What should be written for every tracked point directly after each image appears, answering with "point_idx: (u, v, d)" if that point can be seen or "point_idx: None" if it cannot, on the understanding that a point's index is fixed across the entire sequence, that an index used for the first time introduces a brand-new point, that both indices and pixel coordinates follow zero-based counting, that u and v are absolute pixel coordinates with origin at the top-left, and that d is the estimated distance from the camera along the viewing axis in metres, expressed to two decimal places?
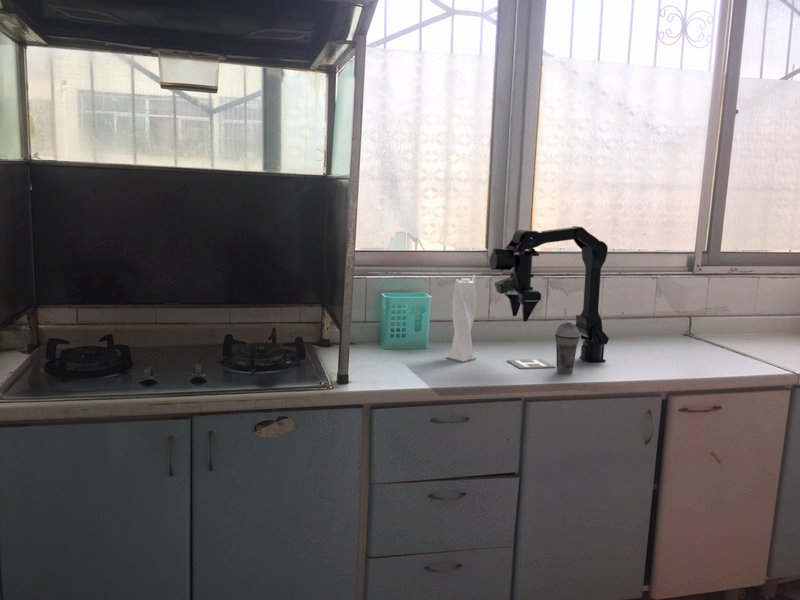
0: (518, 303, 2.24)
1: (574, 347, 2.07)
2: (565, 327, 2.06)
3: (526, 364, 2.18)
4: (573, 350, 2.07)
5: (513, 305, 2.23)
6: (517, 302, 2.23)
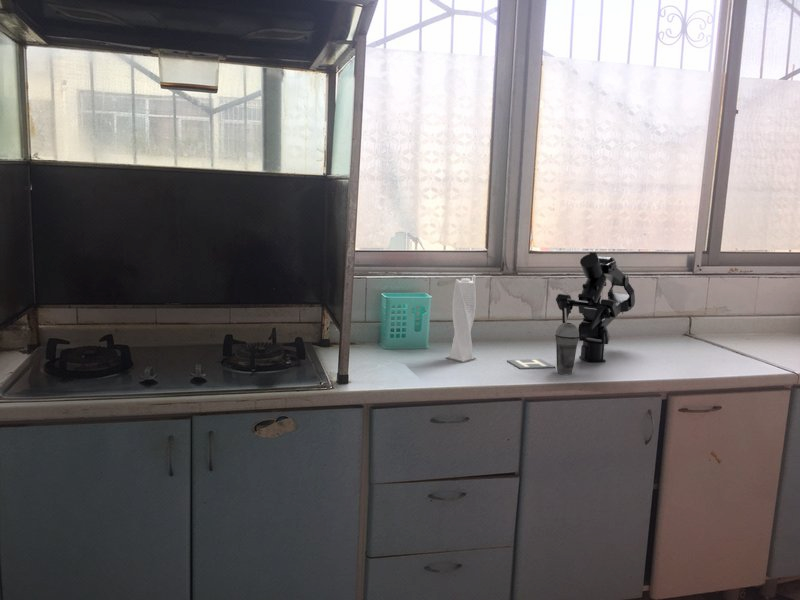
0: None
1: (574, 347, 2.07)
2: (565, 327, 2.07)
3: (526, 364, 2.18)
4: (573, 350, 2.07)
5: None
6: None
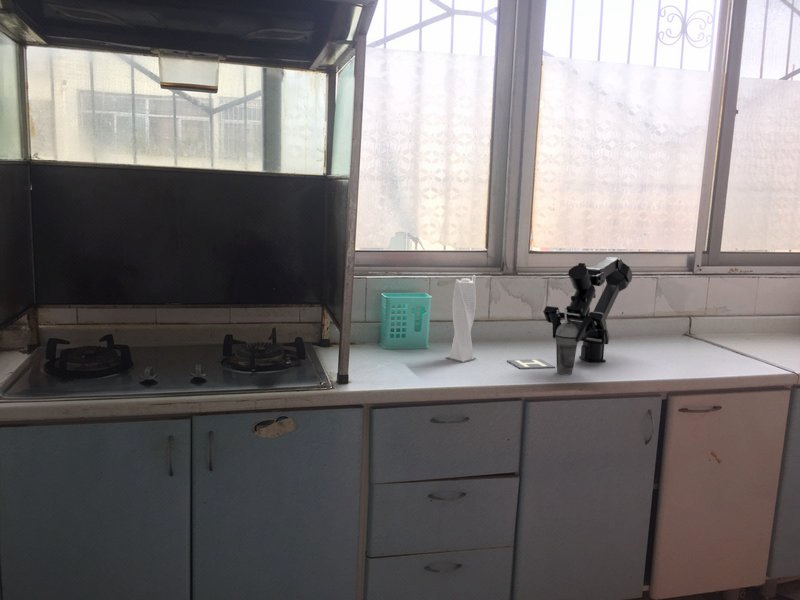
0: None
1: (574, 347, 2.07)
2: (565, 327, 2.07)
3: (526, 364, 2.18)
4: (573, 350, 2.07)
5: None
6: None
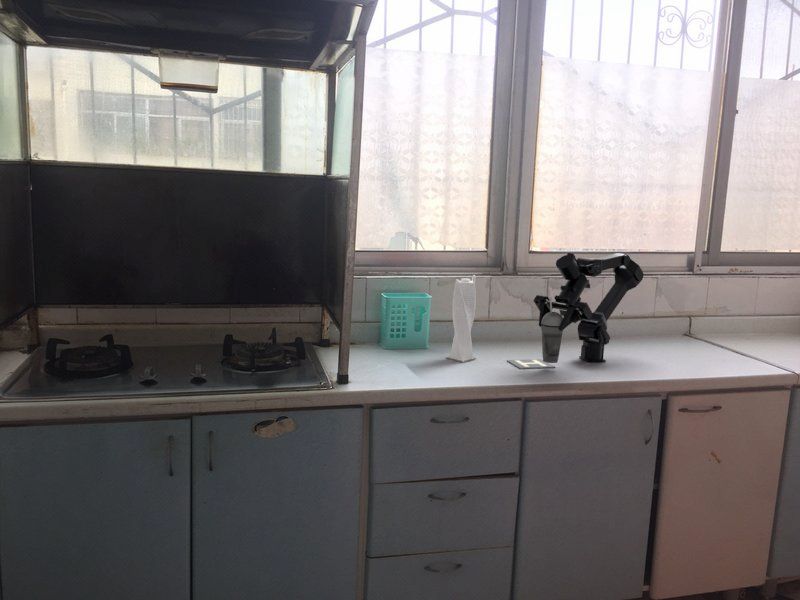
0: None
1: (558, 336, 2.09)
2: (549, 316, 2.09)
3: (526, 364, 2.18)
4: (557, 339, 2.09)
5: None
6: None
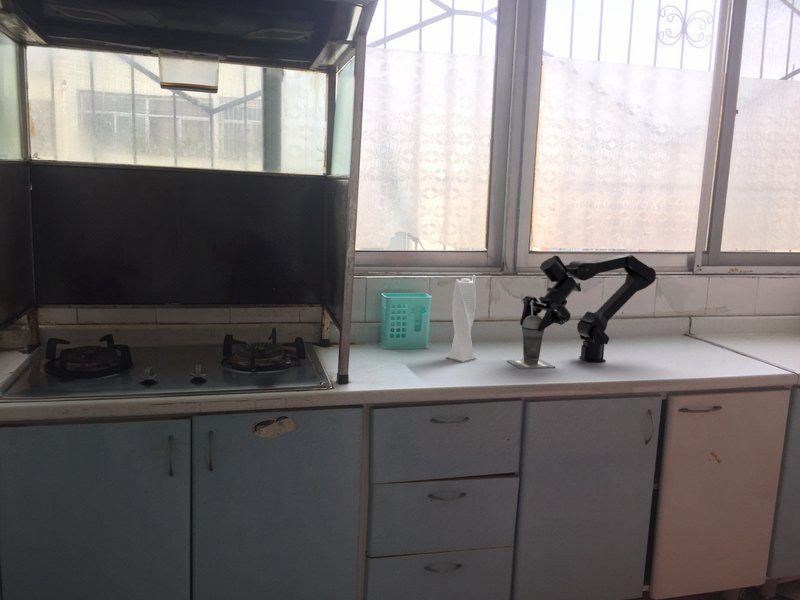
0: None
1: (535, 339, 2.15)
2: (528, 319, 2.16)
3: (526, 364, 2.18)
4: (534, 341, 2.15)
5: None
6: None
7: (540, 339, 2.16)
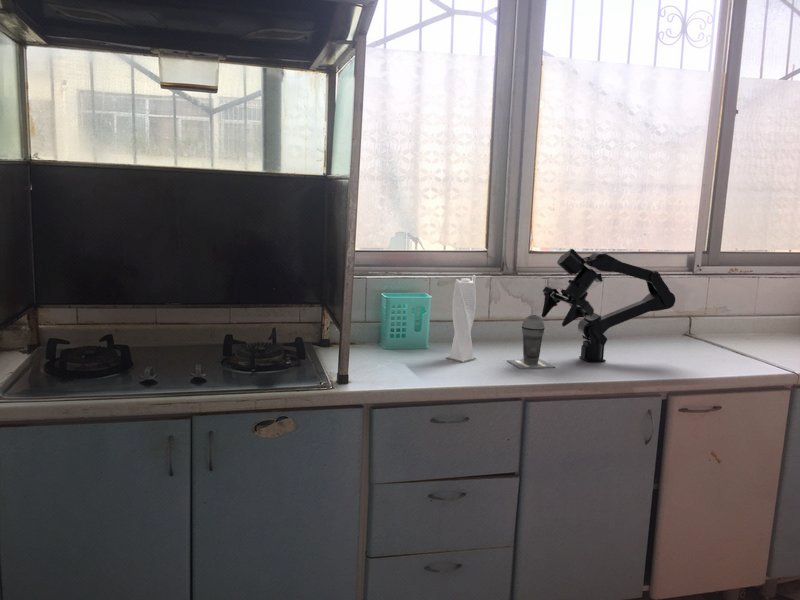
0: None
1: (535, 339, 2.15)
2: (528, 319, 2.16)
3: (526, 364, 2.18)
4: (534, 341, 2.15)
5: None
6: None
7: (540, 339, 2.16)
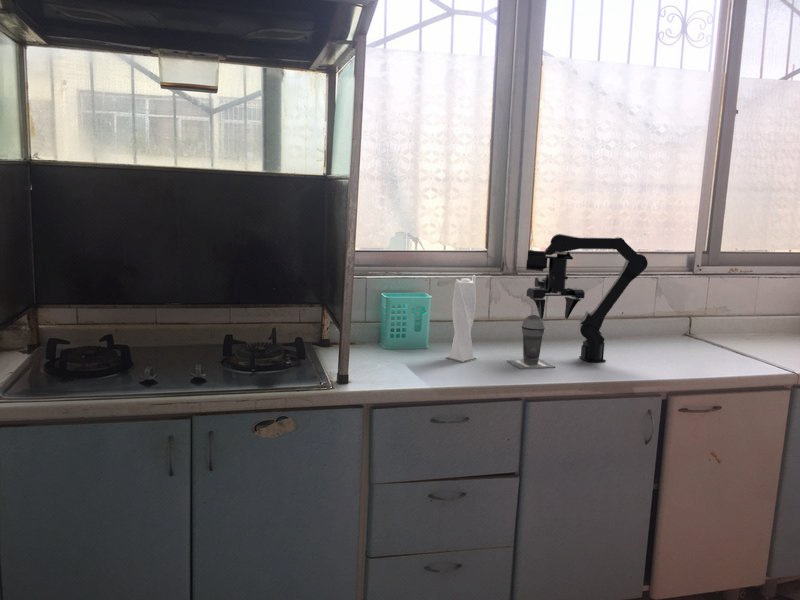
0: (570, 307, 2.29)
1: (535, 338, 2.15)
2: (528, 319, 2.16)
3: (526, 364, 2.18)
4: (534, 341, 2.15)
5: (566, 308, 2.31)
6: (569, 305, 2.29)
7: (540, 339, 2.16)
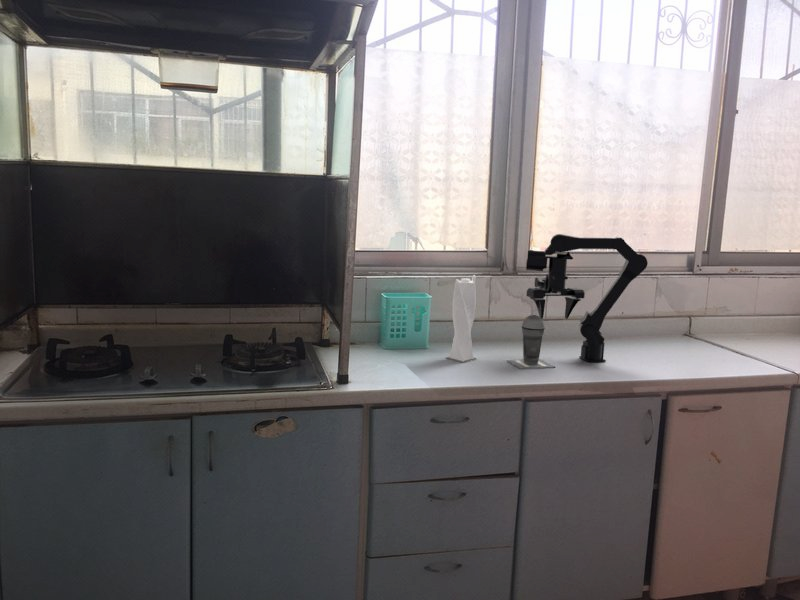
0: (569, 307, 2.29)
1: (535, 338, 2.15)
2: (528, 319, 2.16)
3: (526, 364, 2.18)
4: (534, 341, 2.15)
5: (566, 308, 2.31)
6: (569, 305, 2.29)
7: (540, 339, 2.16)
